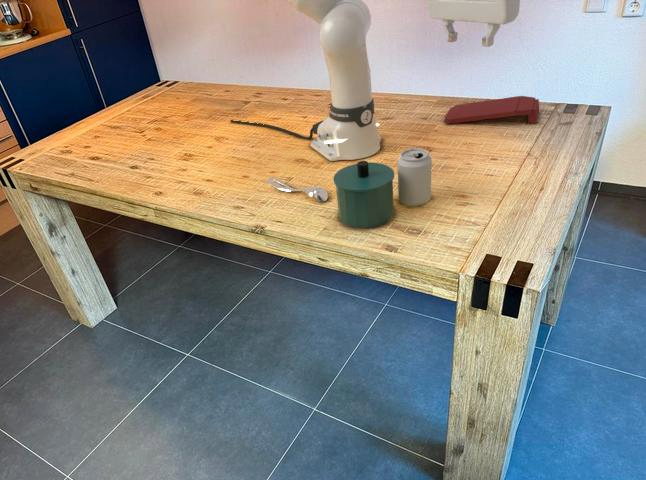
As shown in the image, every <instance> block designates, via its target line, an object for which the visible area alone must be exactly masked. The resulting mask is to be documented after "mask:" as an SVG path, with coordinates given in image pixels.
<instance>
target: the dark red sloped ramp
mask: <svg viewBox="0 0 646 480" xmlns="http://www.w3.org/2000/svg"><path fill="white" fill-rule="evenodd" d="M539 114H540V99H539V98H536V97H533V96H528V95H527V96H526V95H517V96H511V97H510V96H509V97H503V98H497V99H490V100H482V101H474V102H468V103H467V102H466V103H462V104H456V105H453V106H452V107H450V108H449V110H448V111H447V113H446V114H445V116H444V119H445V120H444V122H445V123H447V124H448V125H450V124H458V123H466V122H473V121H474V122H475V121H481V120H482V121H483V120H488V119H489V120H490V119H498V118H504V117H505V118H506V117H513V116H525V115H527V117H528V118H527V119H528V124H535V123H537V122H538V117H539Z"/></svg>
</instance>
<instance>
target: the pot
mask: <svg viewBox="0 0 646 480" xmlns="http://www.w3.org/2000/svg"><path fill="white" fill-rule="evenodd" d="M393 180H394V179H393ZM393 180H392V181H391V182H390V183H389V184H388V185H386V186H384V187H382V188H379V189H376V190H372V191H366V192H351V191H346V190H343V189H340V188H338V187H337V186H336V185H335V191H336V201H337V209H338V210H337V211H338V217H339V220H340V222H341V223H342V224H344V225H345V226H347V227H349V228H350V227H351V228H354V229H372V228H376V227H380V226H382V225H385V224H386V223H387V222H389V221H390V220H391V219H392V217H393V216H394V209H395V208H394V182H393Z"/></svg>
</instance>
